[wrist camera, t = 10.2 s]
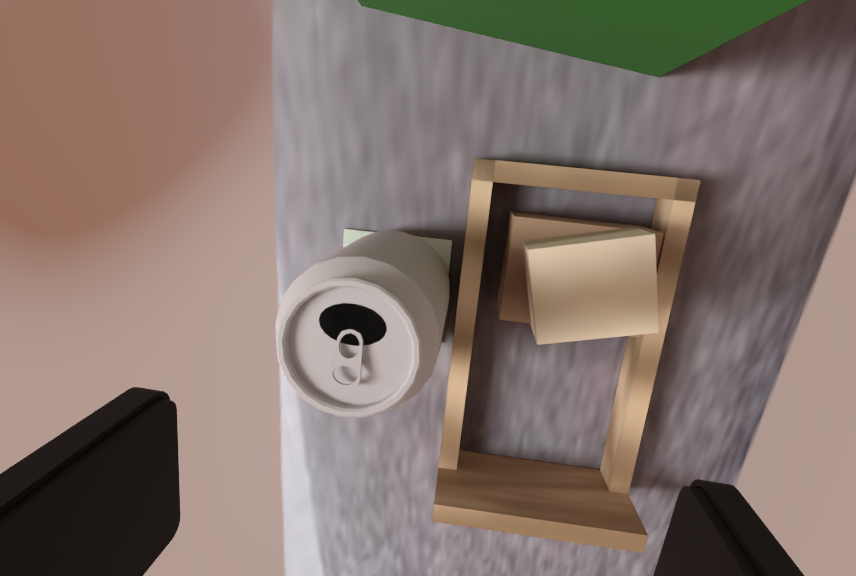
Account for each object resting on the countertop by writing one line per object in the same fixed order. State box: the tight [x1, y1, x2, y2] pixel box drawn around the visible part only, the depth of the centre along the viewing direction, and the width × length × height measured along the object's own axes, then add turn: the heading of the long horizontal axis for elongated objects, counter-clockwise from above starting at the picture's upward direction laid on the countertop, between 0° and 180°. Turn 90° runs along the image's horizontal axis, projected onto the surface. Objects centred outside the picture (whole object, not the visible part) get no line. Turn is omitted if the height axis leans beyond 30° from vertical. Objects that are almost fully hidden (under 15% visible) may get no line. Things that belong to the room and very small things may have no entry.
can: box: [275, 231, 450, 417], centre depth 25 cm, size 8×8×12 cm
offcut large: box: [497, 211, 664, 338], centre depth 29 cm, size 6×8×4 cm
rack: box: [432, 158, 701, 553], centre depth 28 cm, size 21×12×6 cm, turn 175°
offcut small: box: [522, 227, 659, 345], centre depth 25 cm, size 5×6×3 cm
